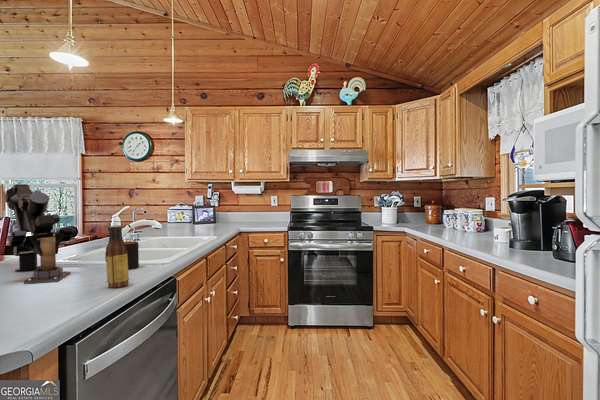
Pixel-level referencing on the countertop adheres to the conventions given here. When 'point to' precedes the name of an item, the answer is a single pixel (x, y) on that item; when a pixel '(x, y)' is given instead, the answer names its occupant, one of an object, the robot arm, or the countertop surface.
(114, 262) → the sauce bottle
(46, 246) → the brown round cylinder
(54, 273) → the bracket
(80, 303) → the countertop surface
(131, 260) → the mug
